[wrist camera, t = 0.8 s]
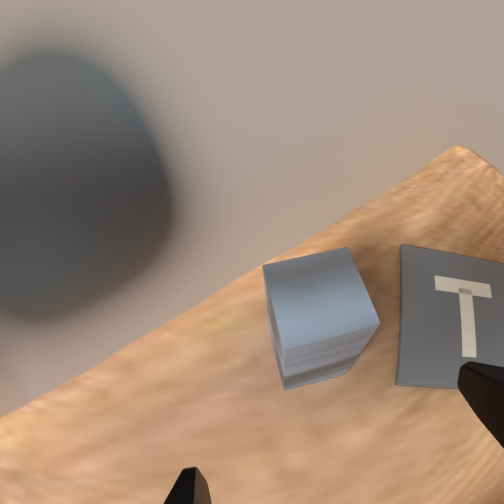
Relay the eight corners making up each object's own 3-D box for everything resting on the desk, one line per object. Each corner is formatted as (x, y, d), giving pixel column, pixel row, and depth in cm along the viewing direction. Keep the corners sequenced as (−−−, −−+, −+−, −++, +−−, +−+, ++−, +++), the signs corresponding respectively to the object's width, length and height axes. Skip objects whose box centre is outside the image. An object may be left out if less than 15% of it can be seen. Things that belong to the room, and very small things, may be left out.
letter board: (518, 388, 18) (522, 386, 17) (395, 385, 21) (397, 382, 20) (504, 267, 26) (507, 263, 25) (399, 247, 29) (401, 243, 28)
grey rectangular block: (345, 373, 22) (380, 323, 14) (284, 390, 22) (284, 349, 14) (327, 319, 25) (347, 246, 17) (270, 333, 25) (262, 265, 17)
